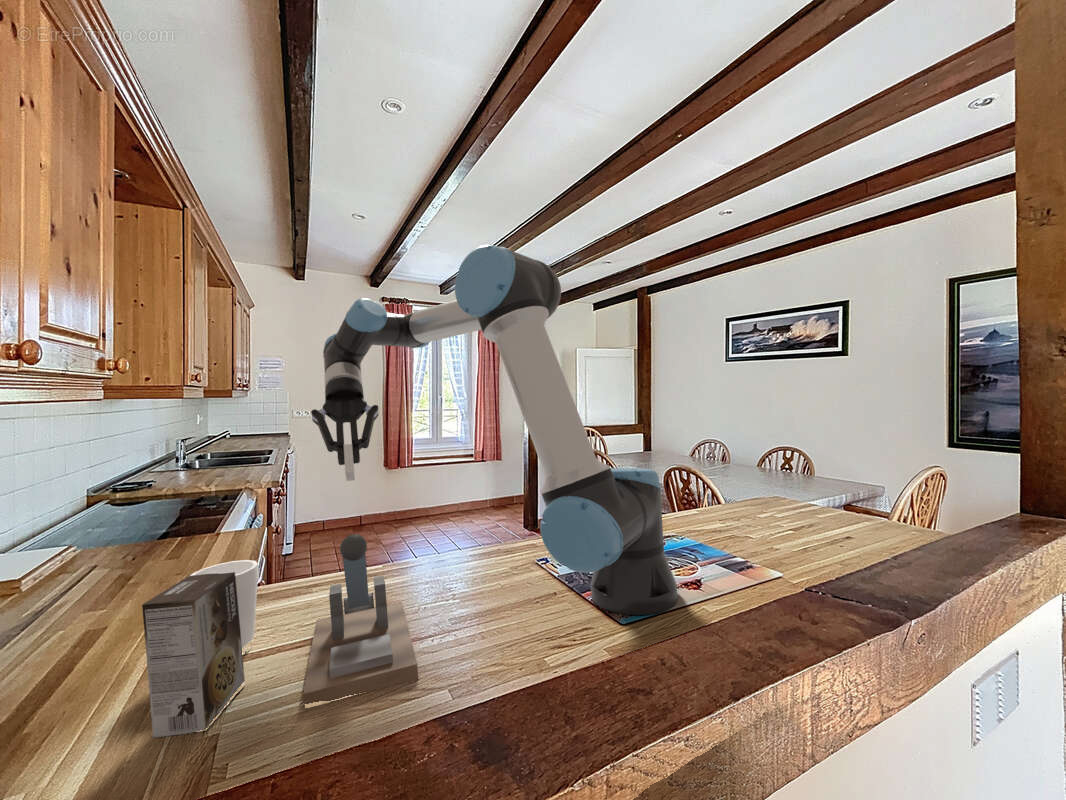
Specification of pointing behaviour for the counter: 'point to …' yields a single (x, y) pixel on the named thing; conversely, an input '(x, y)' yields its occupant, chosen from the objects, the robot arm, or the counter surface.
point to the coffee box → (192, 652)
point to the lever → (356, 574)
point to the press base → (359, 649)
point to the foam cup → (241, 592)
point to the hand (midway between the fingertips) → (350, 476)
